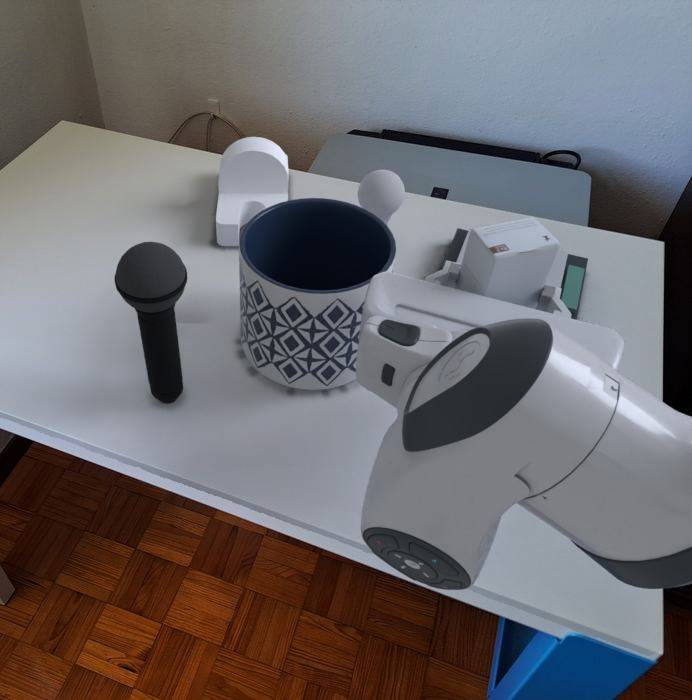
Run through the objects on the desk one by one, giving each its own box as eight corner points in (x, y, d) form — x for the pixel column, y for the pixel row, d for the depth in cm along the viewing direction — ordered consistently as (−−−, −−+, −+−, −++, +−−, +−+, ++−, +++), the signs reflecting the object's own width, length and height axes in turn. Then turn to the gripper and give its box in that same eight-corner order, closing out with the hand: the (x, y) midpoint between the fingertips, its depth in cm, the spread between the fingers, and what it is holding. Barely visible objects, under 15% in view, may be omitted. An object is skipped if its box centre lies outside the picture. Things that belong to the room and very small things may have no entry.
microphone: (152, 367, 77) (129, 221, 63) (207, 381, 76) (195, 234, 61) (127, 411, 73) (96, 264, 59) (184, 426, 71) (166, 279, 57)
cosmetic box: (498, 315, 67) (534, 211, 58) (523, 347, 64) (565, 242, 55) (440, 328, 66) (468, 224, 57) (462, 361, 63) (496, 256, 54)
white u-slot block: (216, 246, 93) (212, 180, 85) (224, 173, 105) (221, 111, 98) (287, 246, 92) (290, 180, 85) (287, 174, 104) (289, 110, 97)
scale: (581, 273, 86) (591, 251, 84) (567, 346, 78) (577, 324, 75) (453, 243, 91) (459, 221, 89) (427, 308, 83) (432, 286, 80)
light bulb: (372, 219, 96) (381, 155, 88) (405, 238, 92) (418, 173, 85) (343, 236, 93) (350, 172, 86) (376, 257, 90) (386, 191, 83)
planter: (387, 393, 74) (409, 292, 63) (240, 393, 74) (237, 294, 64) (369, 295, 85) (385, 195, 74) (241, 296, 85) (239, 198, 75)
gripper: (632, 403, 46) (643, 282, 55) (344, 321, 53) (393, 224, 62) (599, 457, 51) (614, 337, 60) (337, 375, 58) (384, 278, 66)
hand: (500, 279), depth 61 cm, fingers closed on cosmetic box, 7 cm apart
